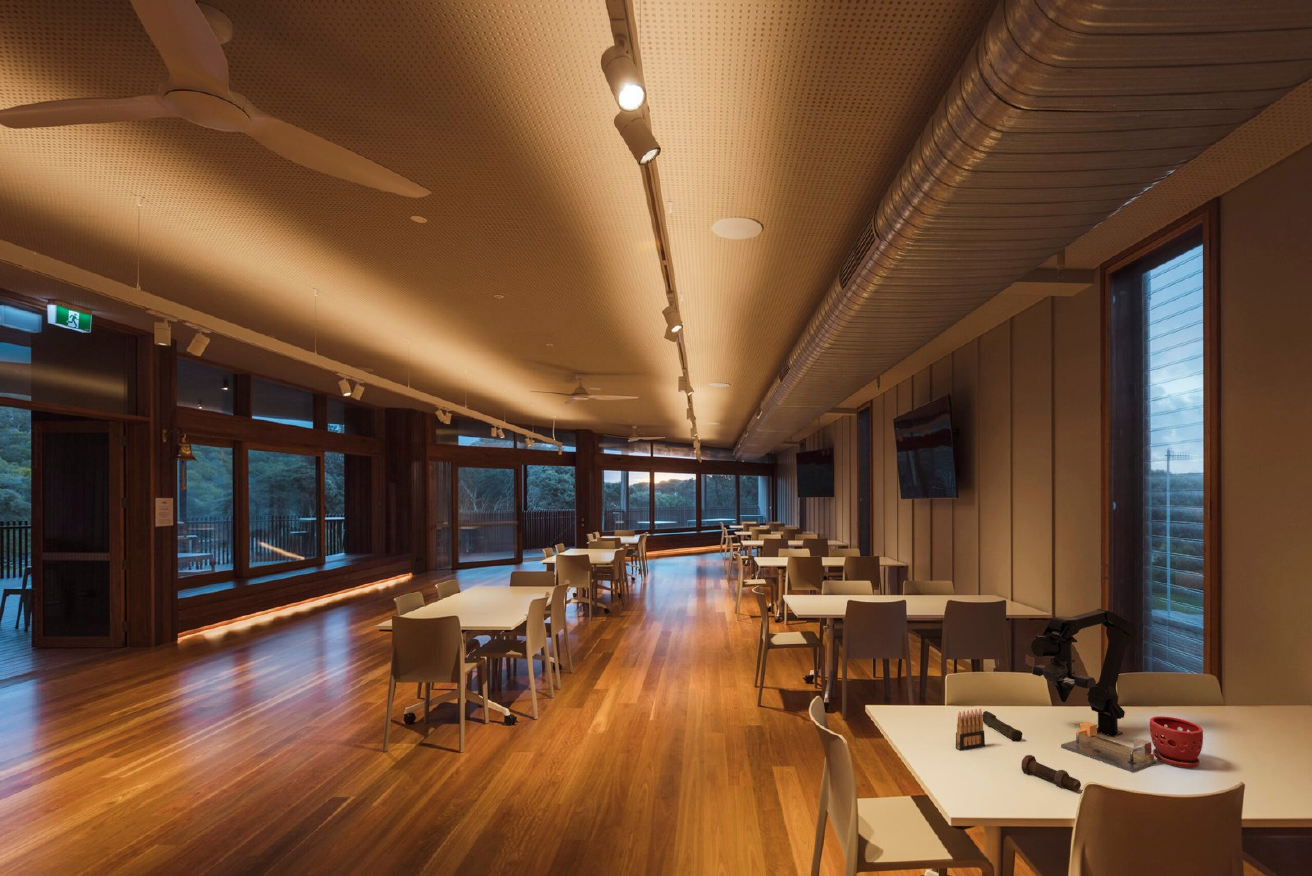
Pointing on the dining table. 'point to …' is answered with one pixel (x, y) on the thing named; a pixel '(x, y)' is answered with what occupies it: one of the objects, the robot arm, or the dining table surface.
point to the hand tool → (1001, 727)
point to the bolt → (1049, 773)
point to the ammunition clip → (970, 730)
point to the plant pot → (1176, 741)
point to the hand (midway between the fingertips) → (1063, 701)
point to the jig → (1114, 752)
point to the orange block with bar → (1086, 730)
